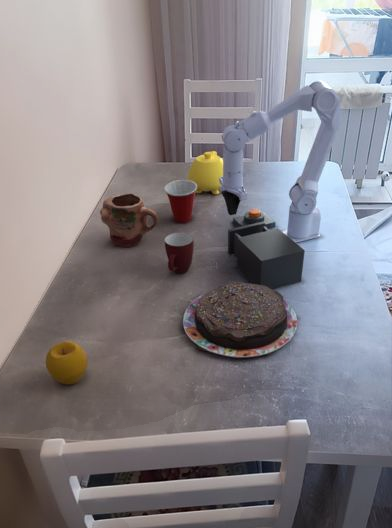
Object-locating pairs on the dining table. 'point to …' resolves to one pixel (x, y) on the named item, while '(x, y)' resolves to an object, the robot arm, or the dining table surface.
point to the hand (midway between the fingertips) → (232, 213)
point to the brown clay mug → (126, 219)
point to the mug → (179, 251)
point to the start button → (254, 213)
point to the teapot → (207, 172)
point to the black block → (270, 259)
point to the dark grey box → (242, 232)
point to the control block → (254, 220)
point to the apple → (66, 362)
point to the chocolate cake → (240, 320)
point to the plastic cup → (181, 199)
